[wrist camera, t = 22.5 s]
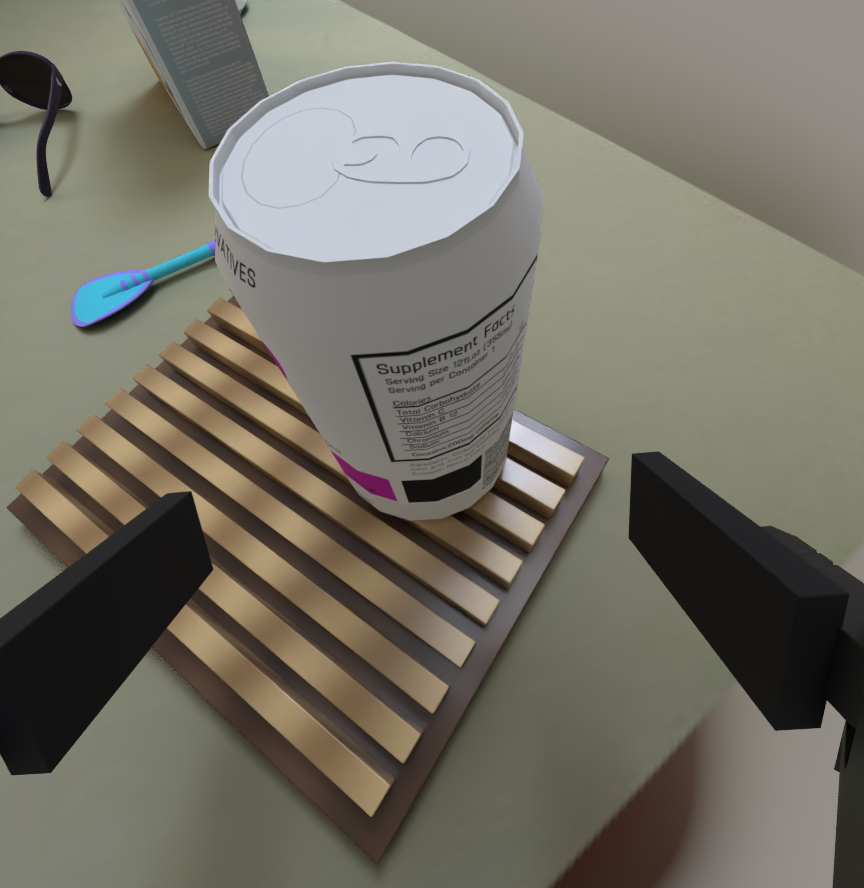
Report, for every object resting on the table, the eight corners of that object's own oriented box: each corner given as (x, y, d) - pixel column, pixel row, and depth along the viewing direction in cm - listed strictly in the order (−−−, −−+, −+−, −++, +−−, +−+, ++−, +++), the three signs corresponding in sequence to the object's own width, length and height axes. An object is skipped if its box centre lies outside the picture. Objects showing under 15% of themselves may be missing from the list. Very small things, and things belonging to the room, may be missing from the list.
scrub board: (602, 469, 26) (617, 445, 23) (384, 851, 19) (369, 879, 16) (264, 290, 34) (245, 257, 31) (28, 515, 27) (-20, 498, 24)
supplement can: (328, 514, 22) (115, 275, 9) (364, 372, 26) (250, 50, 13) (498, 536, 21) (542, 300, 8) (512, 385, 25) (558, 46, 12)
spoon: (79, 338, 33) (66, 327, 32) (66, 303, 34) (53, 291, 33) (384, 189, 37) (381, 175, 36) (359, 164, 39) (356, 150, 38)
